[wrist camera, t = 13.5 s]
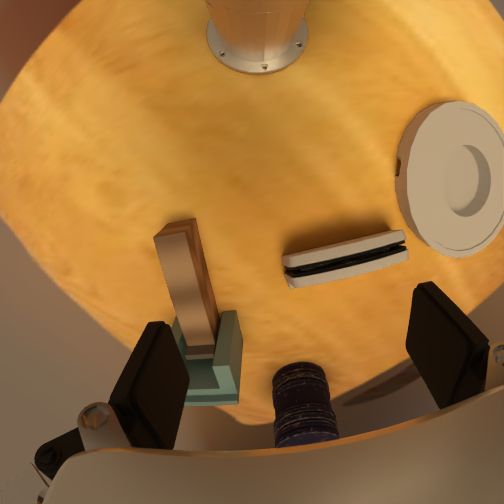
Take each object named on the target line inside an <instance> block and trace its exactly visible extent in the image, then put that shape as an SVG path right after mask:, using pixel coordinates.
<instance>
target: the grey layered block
mask: <svg viewBox="0 0 504 504" xmlns="http://www.w3.org/2000/svg"><path fill="white" fill-rule="evenodd" d="M405 239H406V237H405V234H404V232H403V230H390V231H385V232H381V233H377V234H373V235H369V236H365V237H361V238H356V239H352V240H348V241H344V242H340V243H335V244H331V245H327V246H323V247H319V248H314V249H310V250H306V251H302V252H297V253H293V254H289V255H284V256H282V265H284V266H285V268H287V269H290V270H287V271H286V274H284V275H285V278H286V280H287V282H288V285H289V287H290V289H294V288H299V287H305V286H311V285H316V284H322V283H327V282H331V281H336V280H341V279H345V278H349V277H353V276H357V275H361V274H365V273H368V272H372V271H376V270H379V269H382V268H385V267H389V266H392V265H395V264H397V263H400V262H403V261H406V260H408V249H406V246H401V245H400V244H403V243H405ZM353 257H354V258H353ZM349 258H352V259H349ZM345 259H349V260H345ZM341 260H345V261H341ZM337 261H341V262H337ZM332 262H337V263H332ZM300 269H302V270H300Z"/></svg>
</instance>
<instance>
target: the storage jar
mask: <svg viewBox="0 0 504 504" xmlns="http://www.w3.org/2000/svg"><path fill="white" fill-rule="evenodd" d="M272 382H273V391H272V396H273V406H274V409H275V417H276V419H275V422H274V439H275V448H284V447H292V446H300V445H307V444H314V443H320V442H326V441H332V440H337V439H340V437H339V433H338V425H337V421H336V416H335V414H334V412H333V411H332V408H331V404H330V393H329V386H328V383H327V381H326V377H325V373H324V371H323V369H322V368H321V367H320V366H318V365H316V364H314V363H310V362H297V363H292V364H289V365H287V366H284V367H283V368H281V369H280V370H278V372H277V373H276V374H275V375H274V377H273V381H272Z"/></svg>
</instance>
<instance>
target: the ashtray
mask: <svg viewBox="0 0 504 504" xmlns="http://www.w3.org/2000/svg"><path fill="white" fill-rule="evenodd" d="M397 157H398V159H399V160H400V161H401V167H400V173H399V176H398V177H397V176H396V175H395V191H396V195H397V199H398V203H399V208H400V211H401V213H402V215H403V217H404V219H405V221H406V223H407V225H408V227H409V228H410V229H411V230H412V231H413V233H414V234H415V235H416V236H417V237H418V238H419V239H420V240H421V241H423V242H424V243H426V244H427V245H428V246H430V247H431V248H433V249H434V250H436V251H437V252H439V253H441V254H442V255H444V256H449V257H454V258H460V257H467V256H471V255H473V254H475V253H477V252H479V251H481V250H483V249H484V248H485V247H486V246H487V245H488V244H489V243H490V242H491V241H492V240H494V238H495V237H496V235H497V234H498V233H499V231H500V230H501V228H502V227H503V225H504V134H503V132H502V130H501V128H500V127H499V125H498V124H497V122H496V121H495V120H494V119H493V118H492V117H491V116H490V115H489V114H488V113H487V112H486V111H485V110H483V109H481V108H480V107H478V106H476V105H475V104H472V103H468V102H463V101H453V102H444V103H439V104H434V105H430V106H429V107H427V108H426V109H424V110H423V111H421V112H419V113H418V114H417V115H416V116H415V117H414V119H413V120H412V121H411V122H410V124H409V125H408V126H407V127H406V130H405V132H404V134H403V137H402V139H401V141H400V144H399V146H398V151H397Z"/></svg>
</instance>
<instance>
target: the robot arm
mask: <svg viewBox="0 0 504 504" xmlns="http://www.w3.org/2000/svg"><path fill="white" fill-rule="evenodd" d="M205 3H206V5H207V8H208V10H209V13H210V15H211V18H210V20H209V22H208V26H207V41H208V44H209V47H210V49H211V51H212V52H213V54H214V55H215V57H216V58H217V59H218V60H219V61H220V62H221V63H223V64H224V65H226V66H227V67H229V68H230V69H233V70H235V71H238V72H241V73H246V74H254V75H261V74H270V73H274V72H278V71H280V70H282V69H285V68H287V67H288V66H290V65H291V64H293V63H294V62H295V61H296V60H297V59H298V58H299V57H300V55H301V54H302V52H303V51H304V49H305V47H306V44H307V39H308V28H307V24H306V21H305V19H304V17H303V16H304V13H305V11H306V8H307V5H308V3H309V0H205ZM297 45H300V46H301V47H298V46H297ZM222 54H224V55H225V56H224V57H221V55H222ZM263 67H266V68H267V69H266V70H263ZM488 342H489V340H488V339H487V337H486V336H485V335H484V334H483V333H482V332H481V331H480V330H479V329H478V328H477V327H476V325H475V324H474V323H473V322H472V321H471V320H470V319H469V318H468V317H467V316H466V315H465V314H464V313H463V312H462V311H461V310H460V308H459V307H458V306H457V305H456V304H455V303H454V302H453V301H452V300H451V299H450V298H449V297H448V296H447V295H446V294H445V293H444V292H443V291H442V290H441V289H440V288H438V287H437V286H436V285H435V284H434V283H433V282H432V281H429V282H424V283H420V284H418V285H417V287H416V288H415V289H414V290H413V297H412V305H411V312H410V319H409V326H408V332H407V338H406V350H407V352H408V354H409V355H410V357H411V359H412V361H413V362H414V364H415V366H416V367H417V369H418V371H419V373H420V374H421V376H422V378H423V380H424V381H425V383H426V385H427V387H428V389H429V390H430V392H431V394H432V396H433V398H434V400H435V401H436V404H437V405H438V407H439V409H440V410H438V411H436V412H433V413H431V414H428V415H425V416H423V417H419V418H416V419H413V420H411V421H407V422H404V423H401V424H398V425H394V426H391V427H388V428H384V429H380V430H377V431H373V432H369V433H364V434H360V435H356V436H351V437H347V438H343V439H337V440H332V441H326V442H320V443H314V444H307V445H300V446H292V447H284V448H273V449H262V450H245V451H182V450H173V448H174V444H175V440H176V436H177V432H178V428H179V423H180V419H181V415H182V411H183V407H184V403H185V399H186V395H187V391H188V387H189V383H190V377H189V373H188V371H187V368H186V366H185V363H184V361H183V358H182V356H181V353H180V351H179V348H178V346H177V343H176V341H175V338H174V335H173V333H172V330H171V327H170V326H169V325H168V324H165V322H164V321H155V322H149V323H148V324H147V326H146V328H145V330H144V331H143V333H142V335H141V337H140V339H139V341H138V343H137V344H136V346H135V348H134V350H133V352H132V354H131V356H130V358H129V360H128V362H127V364H126V366H125V368H124V369H123V371H122V373H121V376H120V377H119V379H118V381H117V383H116V385H115V387H114V389H113V392H112V394H111V396H110V400H109V402H108V404H107V403H104V402H95V403H92V404H90V405H88V406H86V407H85V408H84V409H83V410H82V411H81V412H80V414H79V416H78V419H77V424H78V427H77V428H75V429H73V430H71V431H69V432H67V433H65V434H63V435H61V436H60V437H57V438H55V439H53V440H51V441H49V442H47V443H45V444H43V445H42V446H41V447H40V448H39V449H38V450H37V452H36V454H35V458H34V459H35V464H32V463H31V462H30V463H29V464H28V465H27V466H25V467H24V468H23V469H22V470H21V471H19V472H18V473H17V474H16V475H15V476H13V477H12V478H11V479H10V480H8V481H7V482H6V483H5V484H4V485H3V486H2V487H1V490H0V499H1V502H2V504H504V342H498V343H495V344H494V345H492V347H490V346H489V345H488Z"/></svg>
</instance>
